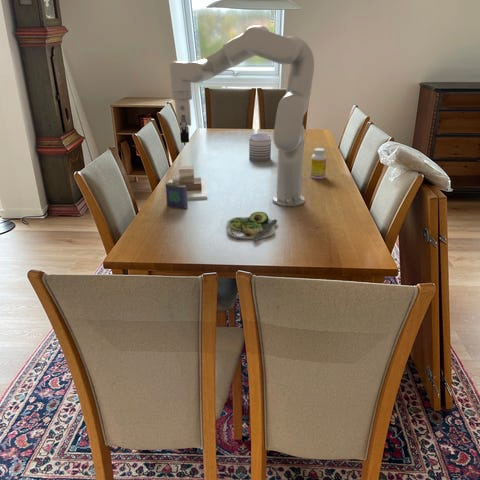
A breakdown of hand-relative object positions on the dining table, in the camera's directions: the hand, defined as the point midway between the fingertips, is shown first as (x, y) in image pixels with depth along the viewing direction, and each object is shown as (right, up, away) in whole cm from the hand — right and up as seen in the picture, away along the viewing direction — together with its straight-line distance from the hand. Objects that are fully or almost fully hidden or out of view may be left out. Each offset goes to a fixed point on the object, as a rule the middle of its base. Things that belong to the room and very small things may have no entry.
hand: (185, 139), depth 187 cm
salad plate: (+26, -37, -26) cm, 52 cm away
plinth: (0, -18, +9) cm, 21 cm away
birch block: (0, -16, +8) cm, 18 cm away
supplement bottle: (+57, -12, +25) cm, 64 cm away
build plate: (0, -19, +10) cm, 22 cm away
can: (+32, 0, +51) cm, 60 cm away
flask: (-2, -28, -7) cm, 29 cm away
